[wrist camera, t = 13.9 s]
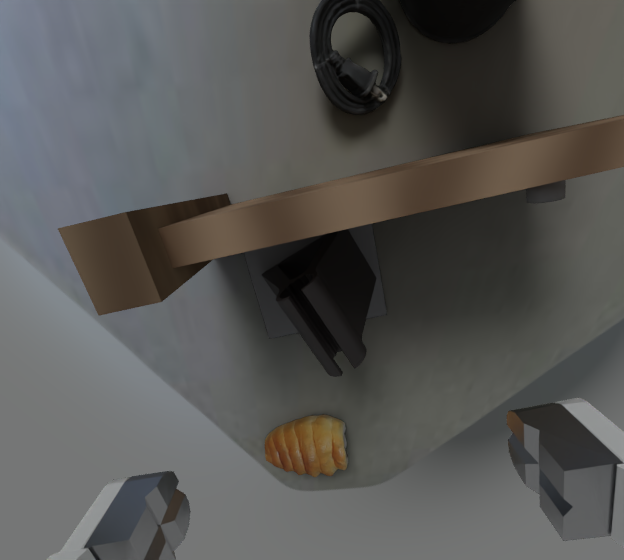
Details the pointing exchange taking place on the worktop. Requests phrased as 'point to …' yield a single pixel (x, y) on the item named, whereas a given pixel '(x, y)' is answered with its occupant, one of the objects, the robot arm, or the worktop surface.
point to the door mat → (275, 254)
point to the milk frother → (390, 43)
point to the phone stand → (326, 296)
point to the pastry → (308, 446)
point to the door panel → (323, 210)
